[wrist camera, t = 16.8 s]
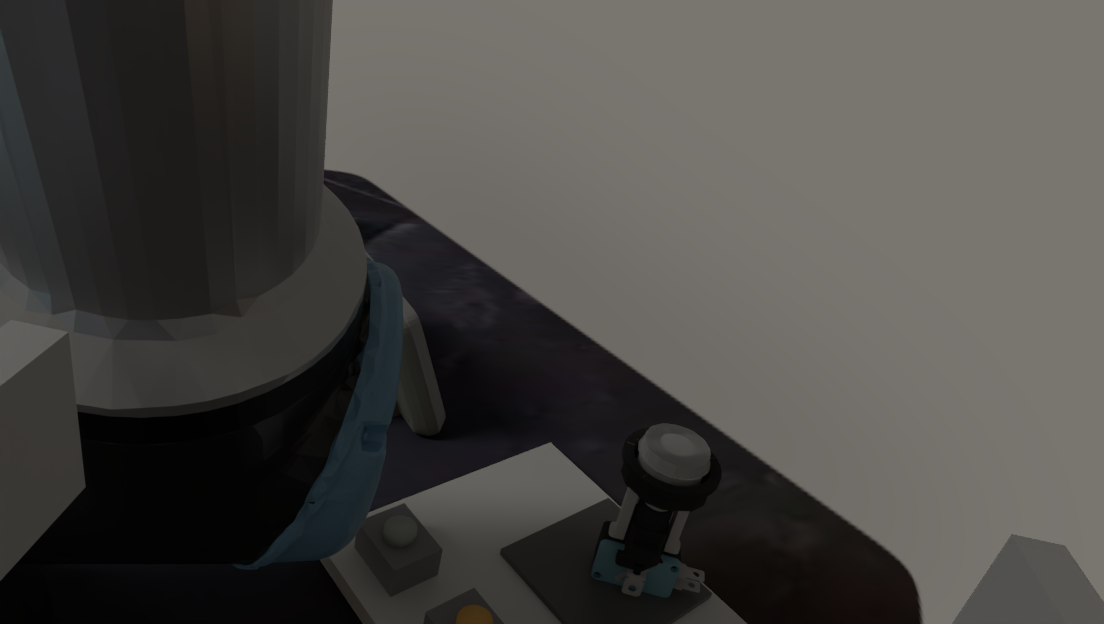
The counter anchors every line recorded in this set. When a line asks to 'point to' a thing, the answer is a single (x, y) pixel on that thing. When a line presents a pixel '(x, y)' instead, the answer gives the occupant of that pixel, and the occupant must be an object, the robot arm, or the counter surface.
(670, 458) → the push button
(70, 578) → the counter surface
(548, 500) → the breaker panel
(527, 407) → the counter surface
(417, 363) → the digital clock
